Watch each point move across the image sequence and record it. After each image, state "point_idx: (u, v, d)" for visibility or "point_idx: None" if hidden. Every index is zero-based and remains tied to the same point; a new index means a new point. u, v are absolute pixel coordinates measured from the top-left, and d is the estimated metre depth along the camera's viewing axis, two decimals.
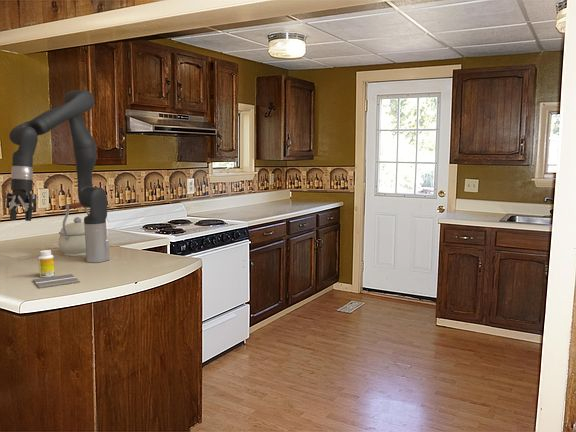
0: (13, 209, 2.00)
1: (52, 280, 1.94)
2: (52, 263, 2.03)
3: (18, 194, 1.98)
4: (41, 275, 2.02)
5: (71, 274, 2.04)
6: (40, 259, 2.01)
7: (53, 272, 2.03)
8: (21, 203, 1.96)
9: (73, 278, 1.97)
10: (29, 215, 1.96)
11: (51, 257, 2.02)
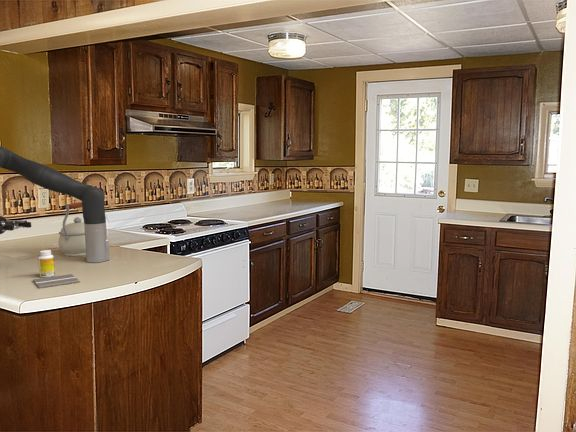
0: (22, 225, 2.11)
1: (52, 280, 1.94)
2: (52, 263, 2.03)
3: None
4: (41, 275, 2.02)
5: (71, 274, 2.04)
6: (40, 259, 2.01)
7: (53, 272, 2.03)
8: None
9: (73, 278, 1.97)
10: (6, 228, 2.01)
11: (51, 257, 2.02)
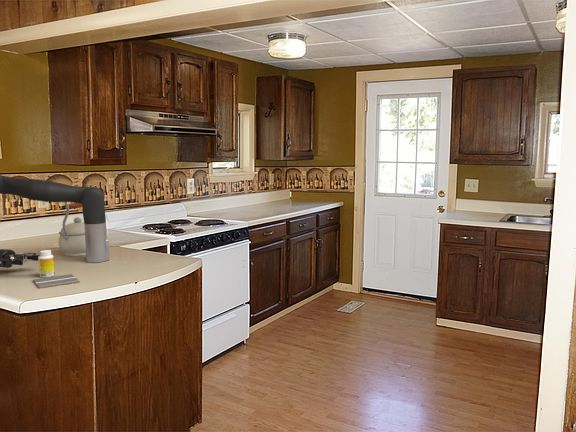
0: (31, 258, 2.11)
1: (52, 280, 1.94)
2: (52, 263, 2.03)
3: None
4: (41, 275, 2.02)
5: (71, 274, 2.04)
6: (40, 259, 2.01)
7: (53, 272, 2.03)
8: None
9: (73, 278, 1.97)
10: (16, 263, 2.02)
11: (51, 257, 2.02)
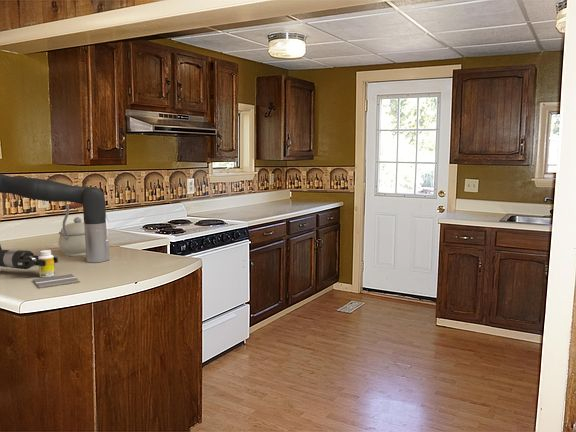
0: None
1: (52, 280, 1.94)
2: (52, 263, 2.03)
3: None
4: (41, 275, 2.02)
5: (71, 274, 2.04)
6: (40, 259, 2.01)
7: (53, 272, 2.03)
8: None
9: (73, 278, 1.97)
10: (39, 264, 2.00)
11: (51, 257, 2.02)
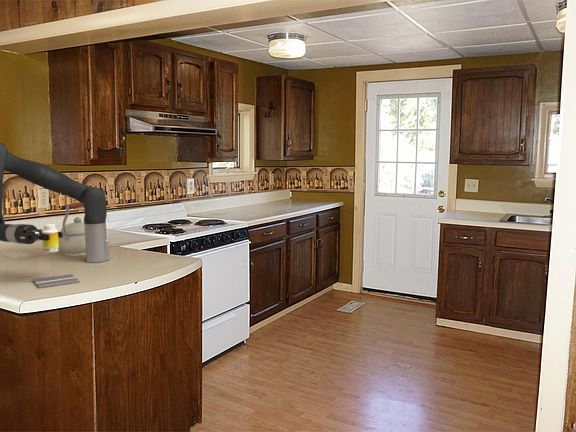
0: None
1: (52, 280, 1.94)
2: (56, 238, 1.92)
3: None
4: (45, 250, 1.90)
5: (71, 274, 2.04)
6: (44, 233, 1.90)
7: (57, 247, 1.92)
8: (37, 240, 1.92)
9: (73, 278, 1.97)
10: (42, 238, 1.88)
11: (55, 231, 1.91)
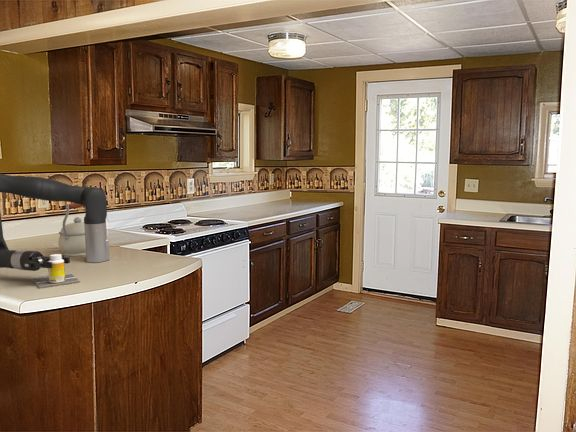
0: None
1: None
2: (63, 268, 1.91)
3: None
4: (51, 281, 1.89)
5: (71, 274, 2.04)
6: None
7: (63, 277, 1.91)
8: None
9: (73, 278, 1.97)
10: (45, 266, 1.86)
11: (62, 261, 1.90)
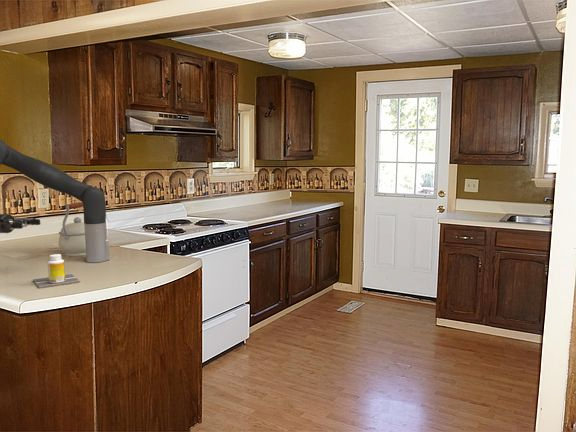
0: (31, 222, 2.02)
1: None
2: (62, 268, 1.91)
3: None
4: (51, 281, 1.89)
5: (71, 274, 2.04)
6: (50, 264, 1.89)
7: (63, 277, 1.91)
8: None
9: (73, 278, 1.97)
10: (15, 226, 1.93)
11: (61, 262, 1.90)
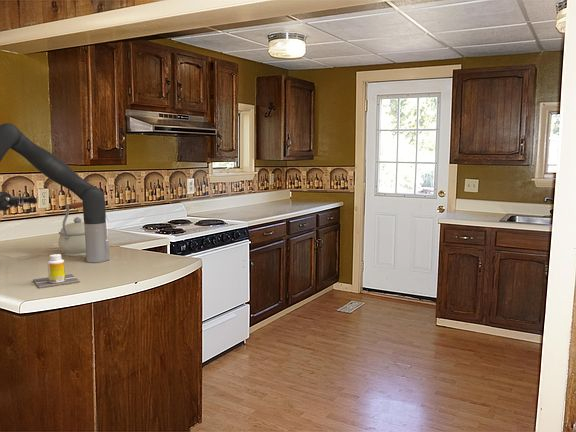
0: (28, 201, 2.03)
1: None
2: (62, 268, 1.91)
3: None
4: (51, 281, 1.89)
5: (71, 274, 2.04)
6: (50, 264, 1.89)
7: (63, 277, 1.91)
8: (9, 206, 1.98)
9: (73, 278, 1.97)
10: (11, 203, 1.94)
11: (61, 262, 1.90)
